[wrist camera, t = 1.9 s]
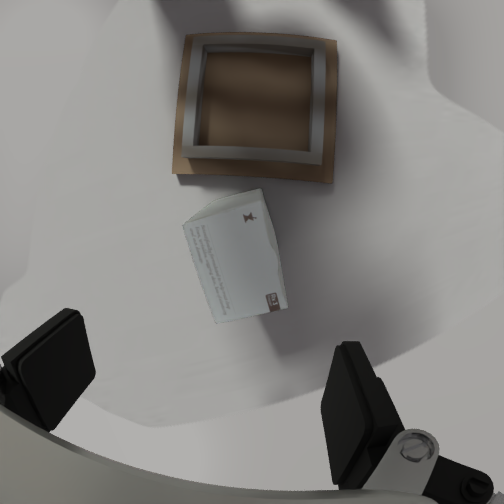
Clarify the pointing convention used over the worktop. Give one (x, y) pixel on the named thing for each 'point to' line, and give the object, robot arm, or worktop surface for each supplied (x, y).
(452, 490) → the robot arm
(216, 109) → the tray
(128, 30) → the worktop surface
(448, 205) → the worktop surface
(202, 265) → the skincare box
